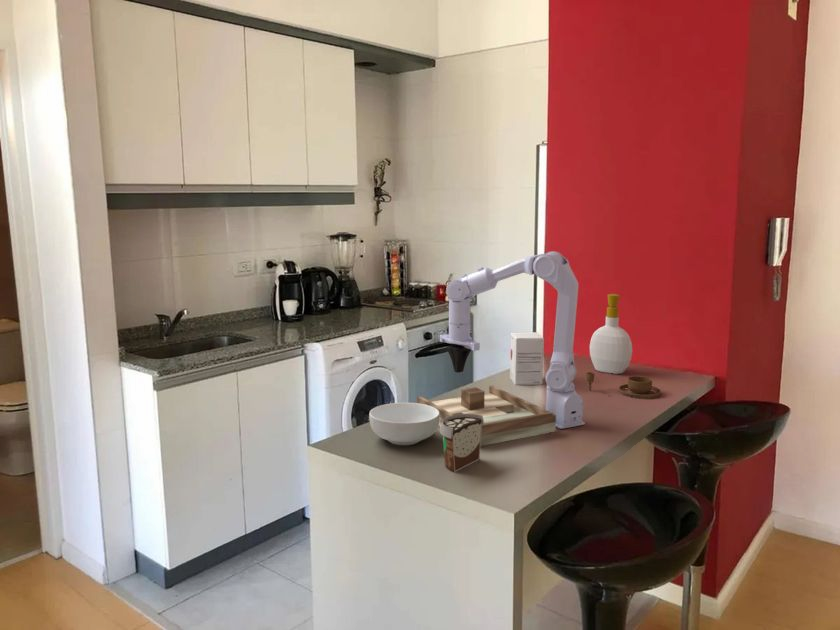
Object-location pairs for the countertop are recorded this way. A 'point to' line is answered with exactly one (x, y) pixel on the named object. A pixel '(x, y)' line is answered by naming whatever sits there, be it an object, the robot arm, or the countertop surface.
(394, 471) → the countertop surface
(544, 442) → the countertop surface
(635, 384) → the place setting
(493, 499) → the countertop surface
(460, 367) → the robot arm
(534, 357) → the supplement box
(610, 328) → the soap bottle
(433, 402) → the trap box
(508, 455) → the countertop surface
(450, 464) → the food container
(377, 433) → the cereal bowl
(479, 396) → the walnut block
